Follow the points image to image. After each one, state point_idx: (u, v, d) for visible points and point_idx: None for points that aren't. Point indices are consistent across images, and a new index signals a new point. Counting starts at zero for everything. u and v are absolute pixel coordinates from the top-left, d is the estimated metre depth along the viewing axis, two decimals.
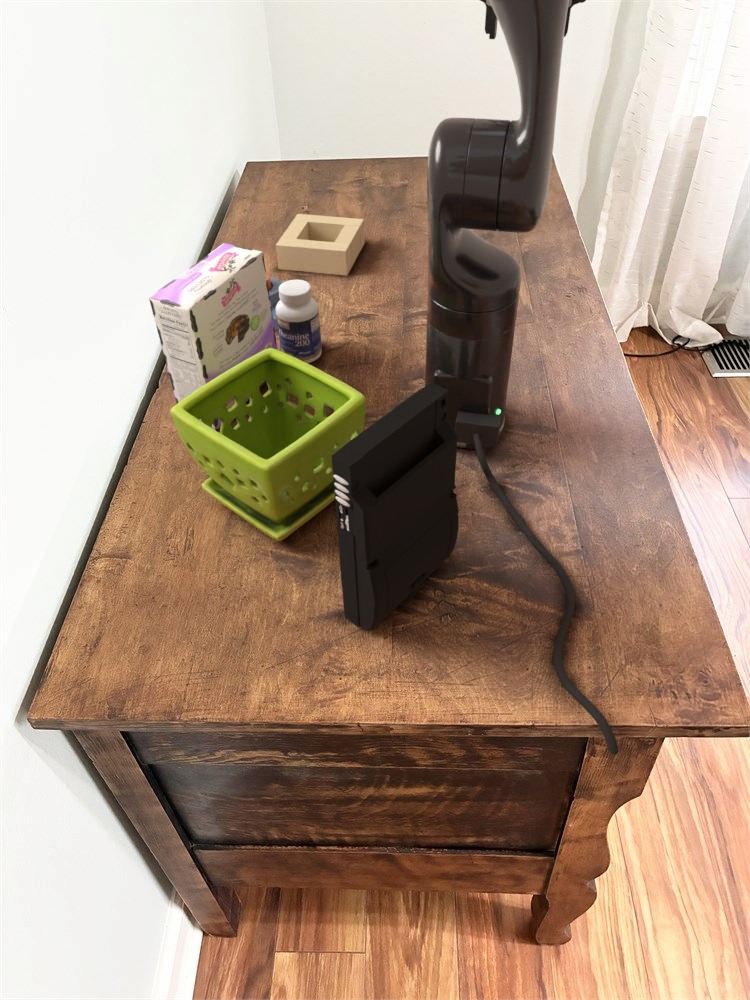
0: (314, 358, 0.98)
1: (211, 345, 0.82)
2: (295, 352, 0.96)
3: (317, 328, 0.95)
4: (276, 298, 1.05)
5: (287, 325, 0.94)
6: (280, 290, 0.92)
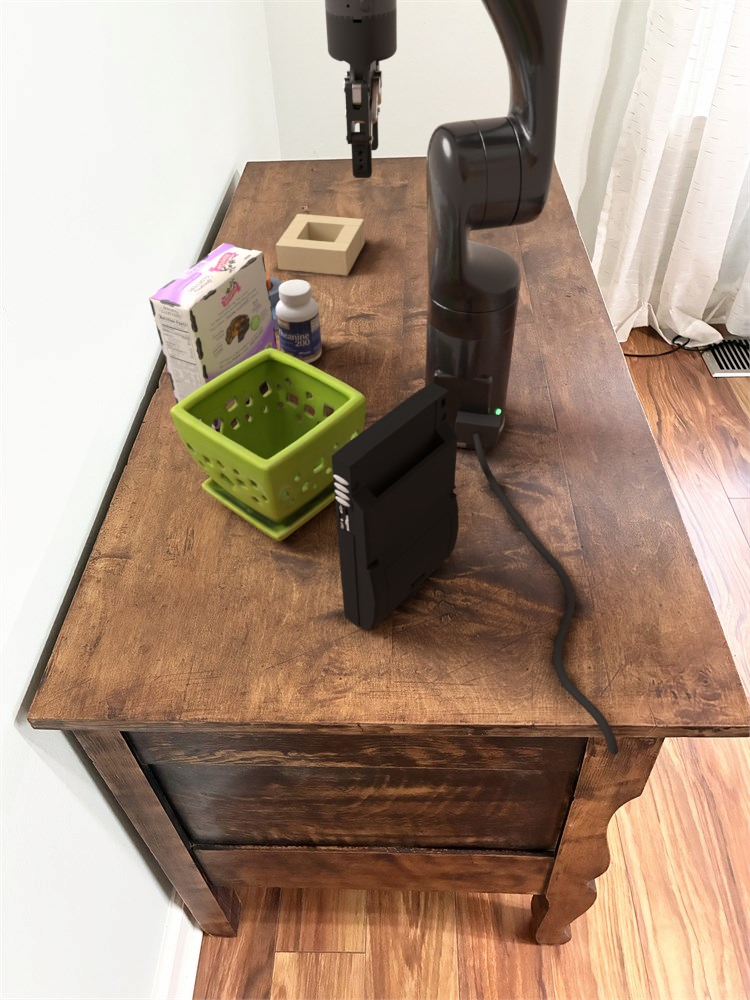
0: (314, 358, 0.98)
1: (211, 345, 0.82)
2: (295, 352, 0.96)
3: (317, 328, 0.95)
4: (276, 298, 1.05)
5: (287, 325, 0.94)
6: (280, 290, 0.92)
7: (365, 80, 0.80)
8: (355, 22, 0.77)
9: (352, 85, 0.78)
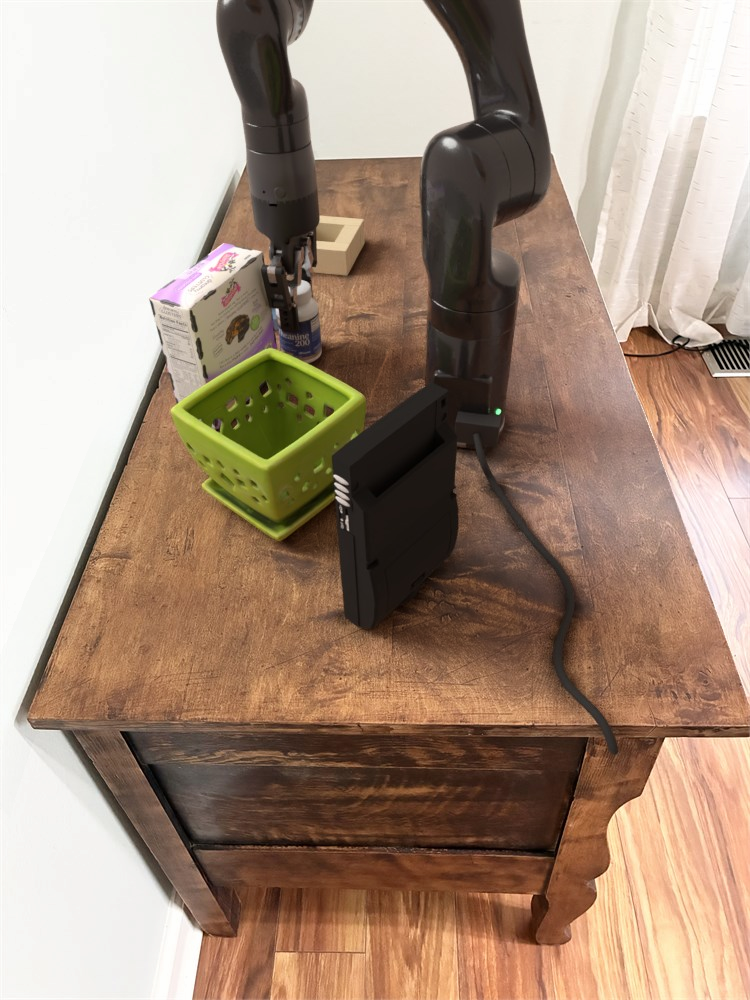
0: (314, 358, 0.98)
1: (211, 345, 0.82)
2: (295, 352, 0.96)
3: (317, 328, 0.95)
4: None
5: None
6: None
7: (283, 253, 0.85)
8: (272, 205, 0.82)
9: (267, 269, 0.84)
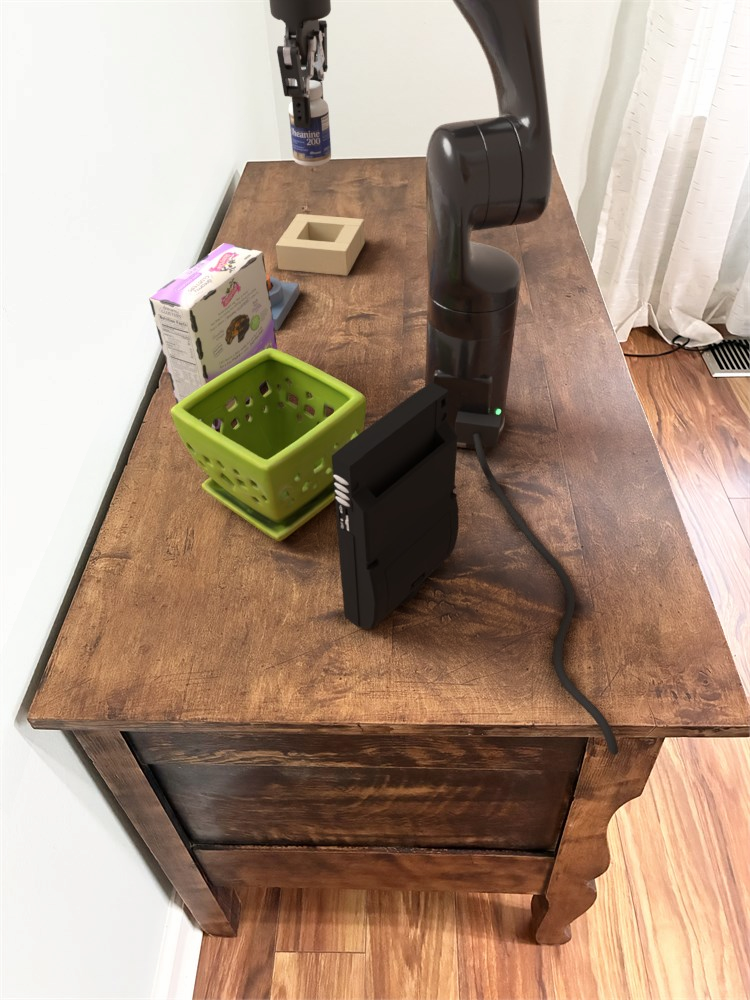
0: (324, 160, 1.05)
1: (211, 345, 0.82)
2: (306, 152, 1.03)
3: (327, 128, 1.03)
4: (276, 298, 1.05)
5: None
6: None
7: (297, 37, 0.92)
8: None
9: (283, 49, 0.91)
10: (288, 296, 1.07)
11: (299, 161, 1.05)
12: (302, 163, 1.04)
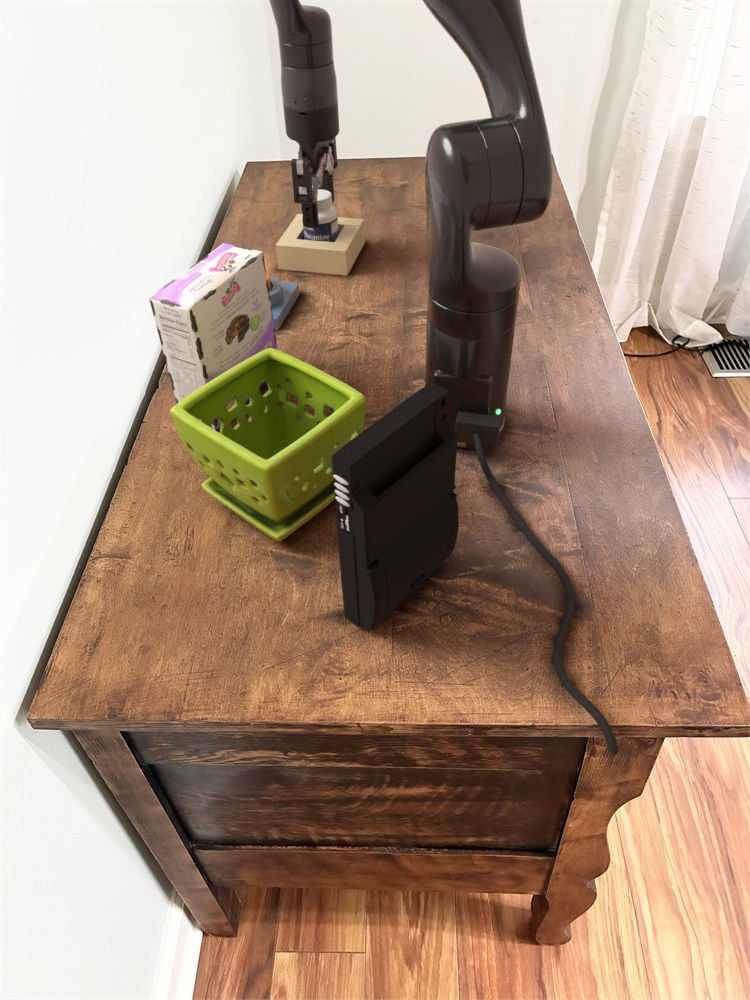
0: None
1: (211, 345, 0.82)
2: None
3: (336, 231, 1.15)
4: (276, 298, 1.05)
5: None
6: None
7: (310, 156, 1.04)
8: (301, 114, 1.01)
9: (296, 161, 1.02)
10: (288, 296, 1.07)
11: None
12: None
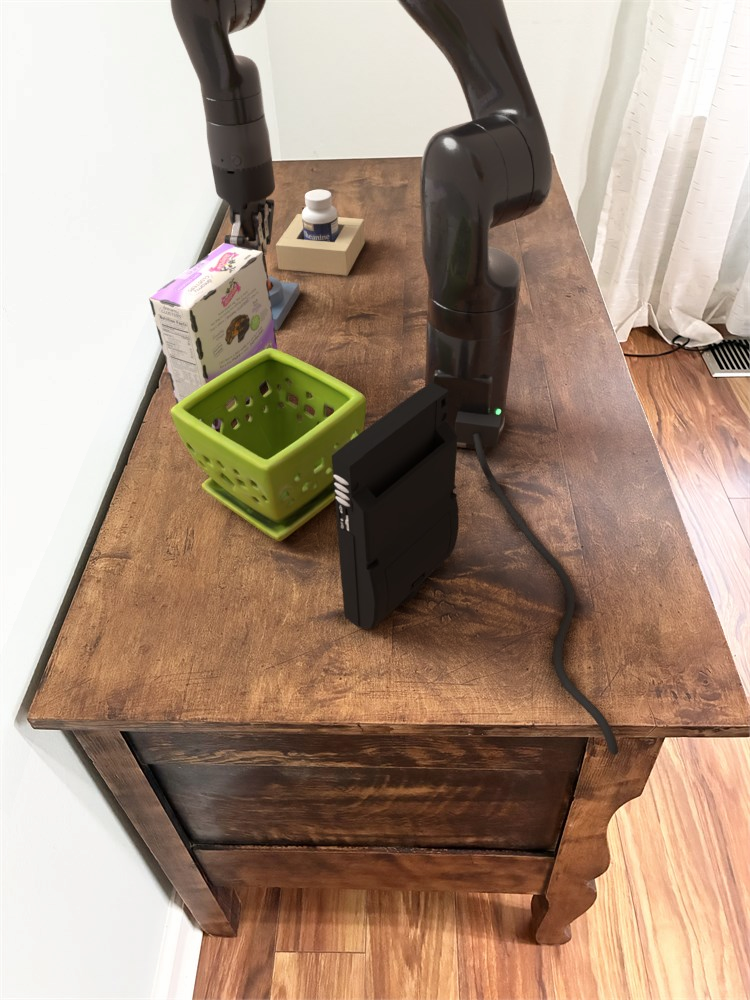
0: None
1: (211, 345, 0.82)
2: None
3: (336, 231, 1.15)
4: (276, 298, 1.05)
5: (312, 227, 1.13)
6: (306, 196, 1.11)
7: (241, 217, 0.94)
8: (229, 172, 0.91)
9: (230, 241, 0.95)
10: (288, 296, 1.07)
11: None
12: None
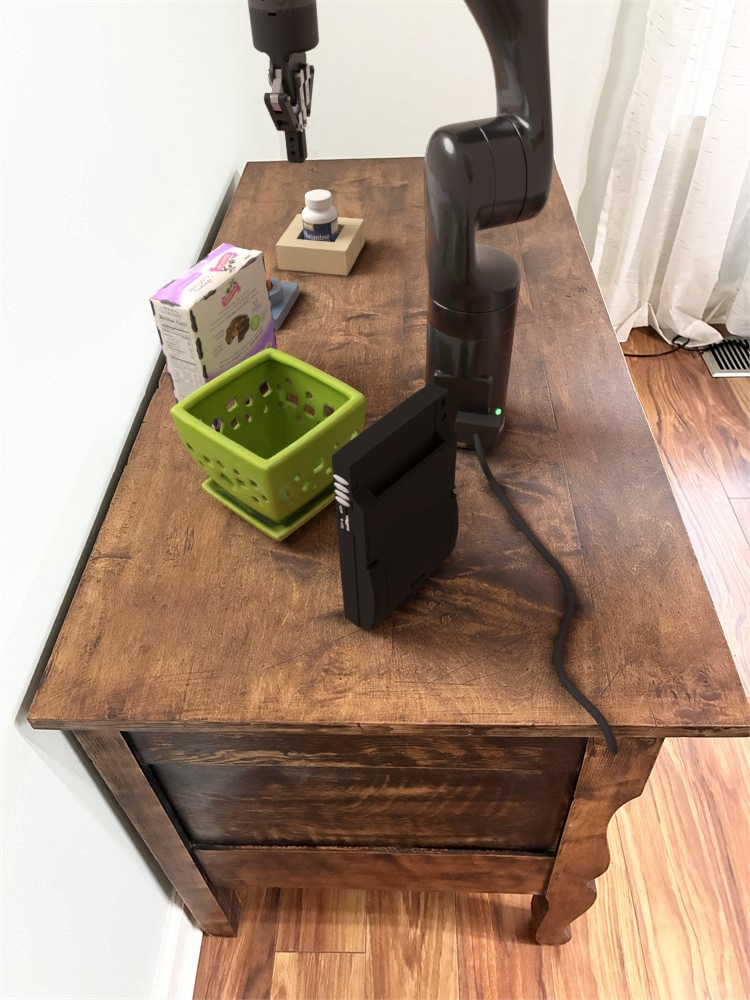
0: None
1: (211, 345, 0.82)
2: None
3: (336, 231, 1.15)
4: (276, 298, 1.05)
5: (312, 227, 1.13)
6: (306, 196, 1.11)
7: (282, 71, 0.84)
8: (271, 15, 0.81)
9: (270, 99, 0.84)
10: (288, 296, 1.07)
11: None
12: None
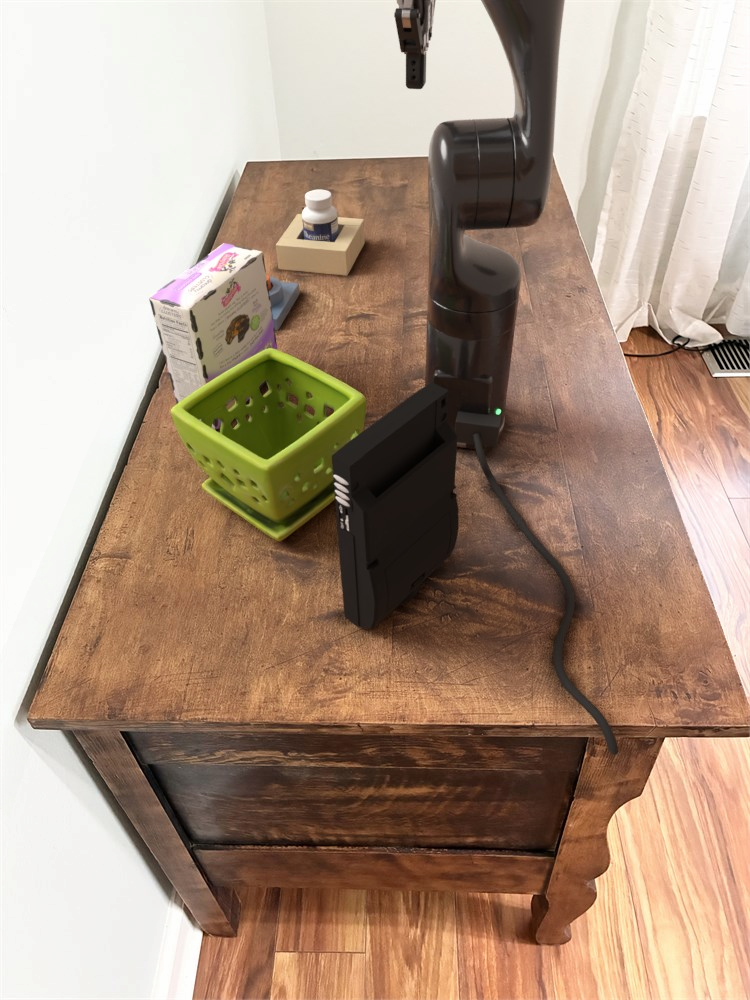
0: None
1: (211, 345, 0.82)
2: None
3: (336, 231, 1.15)
4: (276, 298, 1.05)
5: (312, 227, 1.13)
6: (306, 196, 1.11)
7: None
8: None
9: (401, 14, 0.82)
10: (288, 296, 1.07)
11: None
12: None
